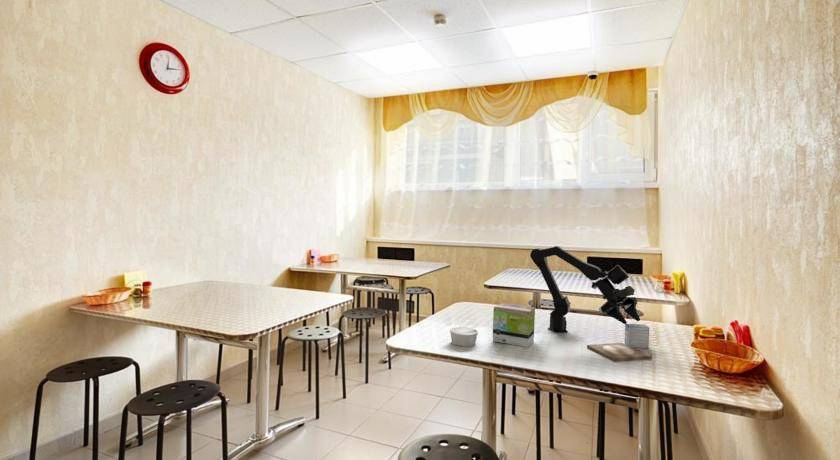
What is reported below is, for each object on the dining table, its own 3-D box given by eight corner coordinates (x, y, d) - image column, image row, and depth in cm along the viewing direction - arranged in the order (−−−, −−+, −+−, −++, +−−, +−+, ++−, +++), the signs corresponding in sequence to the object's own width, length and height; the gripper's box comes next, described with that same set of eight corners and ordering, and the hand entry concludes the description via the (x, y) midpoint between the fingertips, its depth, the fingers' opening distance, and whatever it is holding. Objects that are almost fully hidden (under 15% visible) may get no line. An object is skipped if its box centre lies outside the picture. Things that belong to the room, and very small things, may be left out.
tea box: (491, 342, 174) (492, 306, 173) (499, 336, 183) (500, 302, 182) (528, 348, 167) (529, 310, 166) (534, 341, 176) (535, 306, 175)
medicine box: (644, 345, 174) (645, 324, 173) (648, 348, 169) (649, 327, 169) (624, 344, 174) (624, 323, 174) (628, 347, 170) (629, 326, 170)
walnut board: (614, 361, 153) (614, 357, 153) (586, 347, 169) (587, 344, 168) (651, 358, 157) (651, 355, 157) (621, 345, 172) (621, 342, 172)
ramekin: (476, 348, 165) (476, 335, 165) (448, 346, 167) (448, 333, 167) (478, 340, 176) (478, 328, 176) (451, 338, 178) (451, 326, 178)
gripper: (607, 281, 172) (633, 313, 163) (634, 278, 182) (659, 308, 173) (590, 297, 179) (613, 329, 170) (616, 293, 189) (640, 323, 180)
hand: (632, 322), depth 173 cm, fingers open, 9 cm apart
